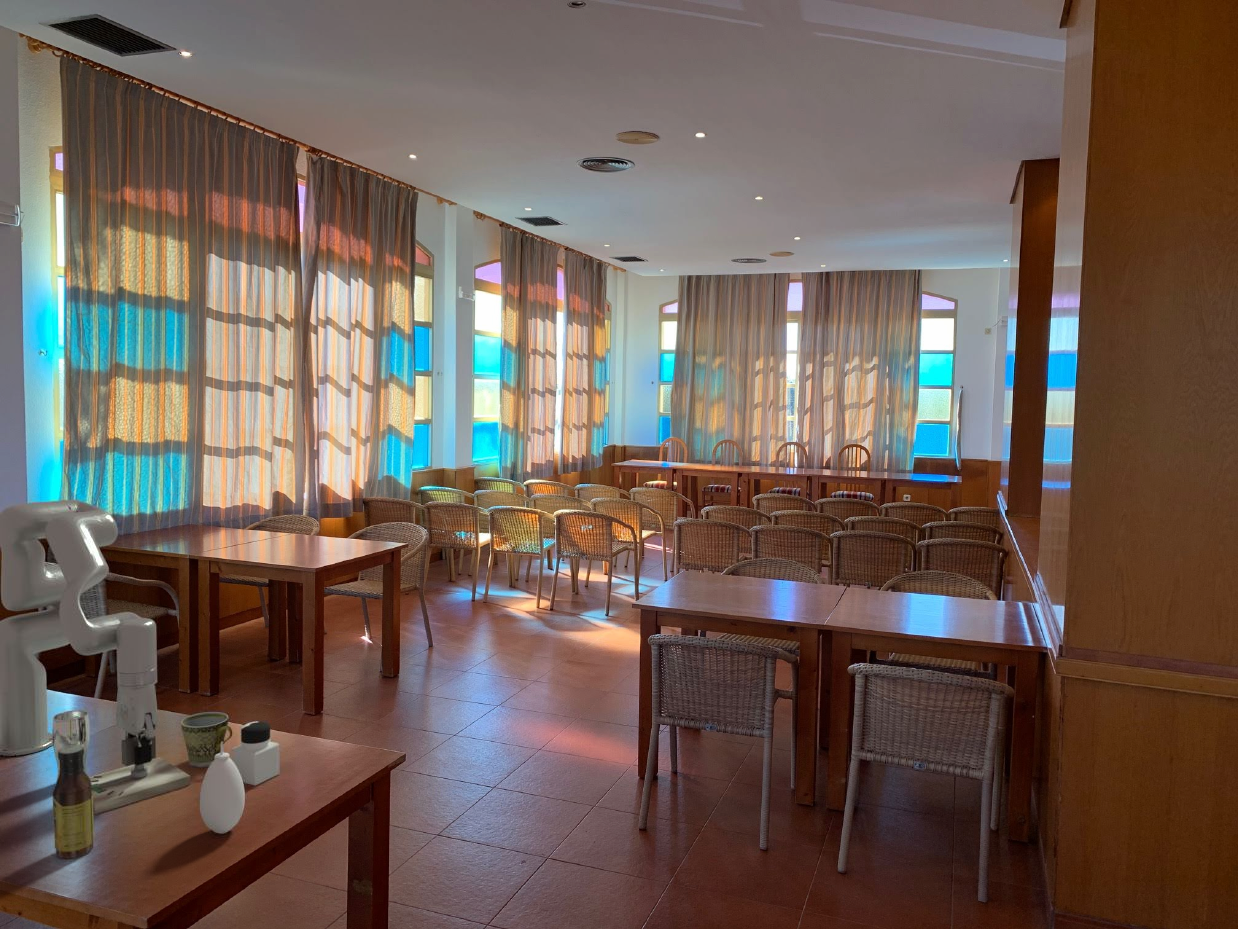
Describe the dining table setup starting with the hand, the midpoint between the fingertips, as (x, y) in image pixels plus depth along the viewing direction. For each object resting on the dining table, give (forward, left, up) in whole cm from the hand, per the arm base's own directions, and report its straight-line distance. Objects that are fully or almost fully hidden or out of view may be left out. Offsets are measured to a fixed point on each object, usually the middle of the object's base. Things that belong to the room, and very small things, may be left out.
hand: (138, 759), depth 196 cm
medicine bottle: (+14, +19, -6) cm, 24 cm away
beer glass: (-12, -9, -6) cm, 16 cm away
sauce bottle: (+21, -20, -6) cm, 30 cm away
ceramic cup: (-1, +16, -6) cm, 17 cm away
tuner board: (0, -2, -6) cm, 6 cm away
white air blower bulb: (+33, +2, -6) cm, 34 cm away
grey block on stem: (0, -2, -3) cm, 4 cm away
